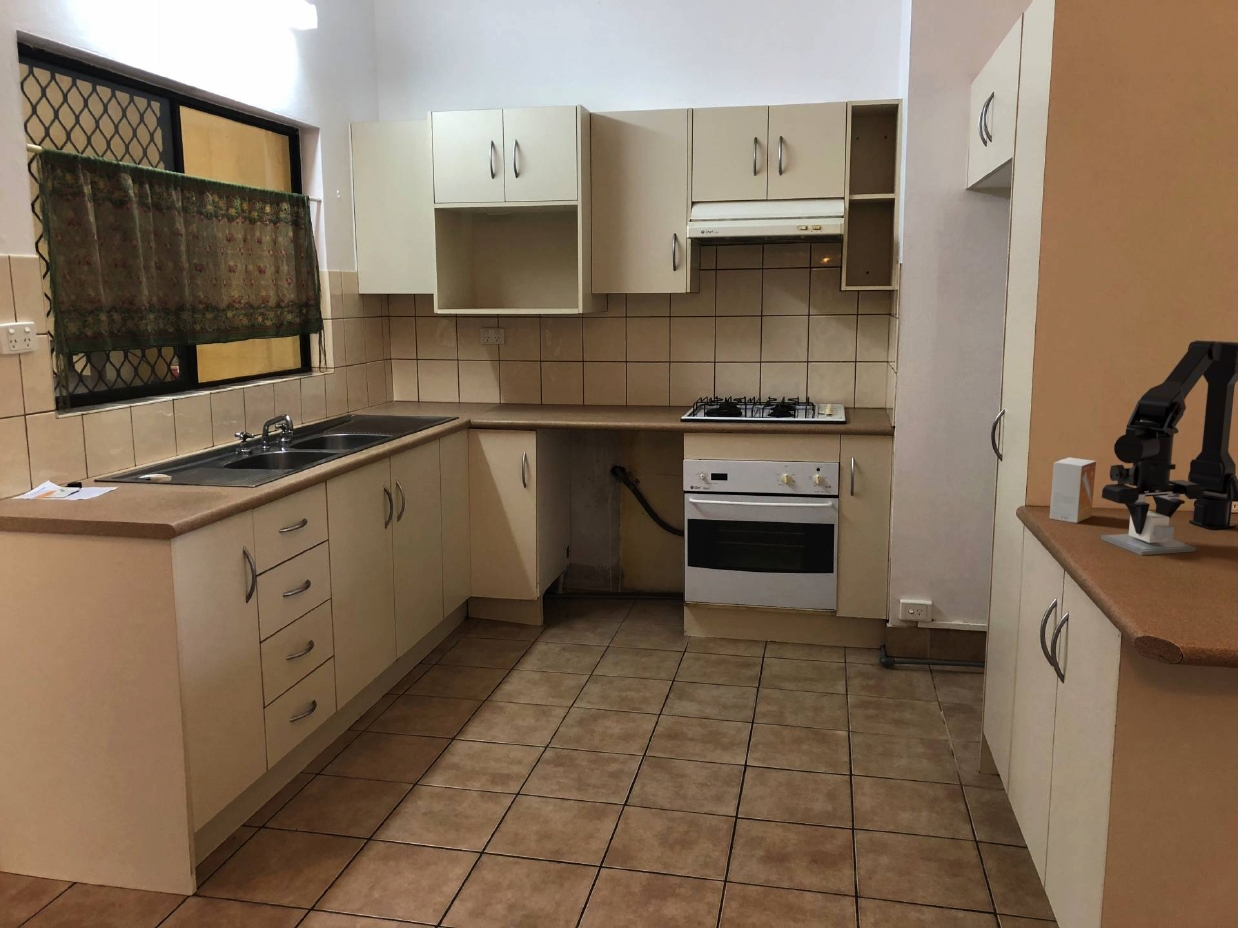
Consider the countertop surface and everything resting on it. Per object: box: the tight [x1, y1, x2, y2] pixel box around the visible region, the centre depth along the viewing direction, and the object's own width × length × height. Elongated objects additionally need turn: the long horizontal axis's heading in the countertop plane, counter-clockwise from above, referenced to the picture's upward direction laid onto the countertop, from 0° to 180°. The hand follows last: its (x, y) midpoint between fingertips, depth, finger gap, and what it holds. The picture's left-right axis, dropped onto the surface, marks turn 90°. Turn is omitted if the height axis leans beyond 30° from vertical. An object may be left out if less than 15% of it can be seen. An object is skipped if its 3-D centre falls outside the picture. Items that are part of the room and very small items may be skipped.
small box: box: [1049, 456, 1097, 524], centre depth 221 cm, size 8×6×13 cm
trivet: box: [1100, 533, 1196, 556], centre depth 200 cm, size 12×12×1 cm
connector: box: [1128, 509, 1175, 543], centre depth 199 cm, size 4×8×5 cm, turn 11°
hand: (1148, 533), depth 200 cm, fingers closed on connector, 4 cm apart
